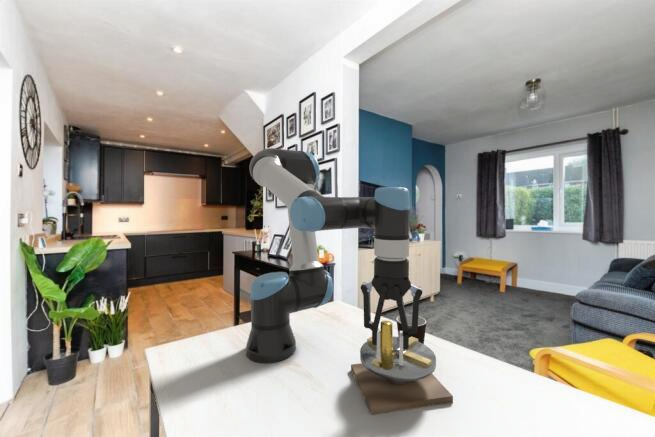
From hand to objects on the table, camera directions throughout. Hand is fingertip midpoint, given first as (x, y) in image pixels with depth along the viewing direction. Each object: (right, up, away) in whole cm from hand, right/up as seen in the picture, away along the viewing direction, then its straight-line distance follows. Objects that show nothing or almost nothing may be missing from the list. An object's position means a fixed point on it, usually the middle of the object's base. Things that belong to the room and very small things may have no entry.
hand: (390, 360), depth 64 cm
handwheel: (+3, -3, +6) cm, 7 cm away
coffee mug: (+11, -9, +23) cm, 27 cm away
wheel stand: (+3, -9, +6) cm, 12 cm away
